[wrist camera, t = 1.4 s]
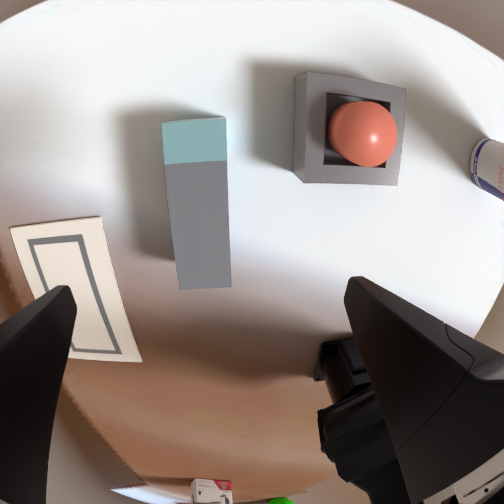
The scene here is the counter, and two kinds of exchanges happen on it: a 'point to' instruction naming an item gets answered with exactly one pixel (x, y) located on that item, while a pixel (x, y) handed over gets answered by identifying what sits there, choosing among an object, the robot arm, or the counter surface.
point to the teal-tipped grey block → (198, 200)
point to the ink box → (211, 492)
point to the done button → (362, 132)
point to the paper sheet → (79, 284)
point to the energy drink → (488, 166)
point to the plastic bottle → (281, 501)
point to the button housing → (315, 129)
